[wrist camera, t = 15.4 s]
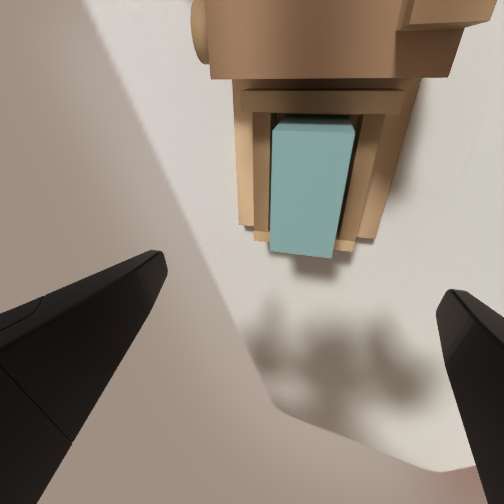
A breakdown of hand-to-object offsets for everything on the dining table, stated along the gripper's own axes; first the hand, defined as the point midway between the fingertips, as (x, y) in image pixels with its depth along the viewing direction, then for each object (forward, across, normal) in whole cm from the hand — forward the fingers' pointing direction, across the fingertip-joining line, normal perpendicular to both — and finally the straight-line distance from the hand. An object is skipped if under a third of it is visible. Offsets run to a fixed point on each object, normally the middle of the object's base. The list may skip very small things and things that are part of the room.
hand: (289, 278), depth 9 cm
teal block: (+11, 0, 0) cm, 11 cm away
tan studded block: (+11, 0, -7) cm, 13 cm away
